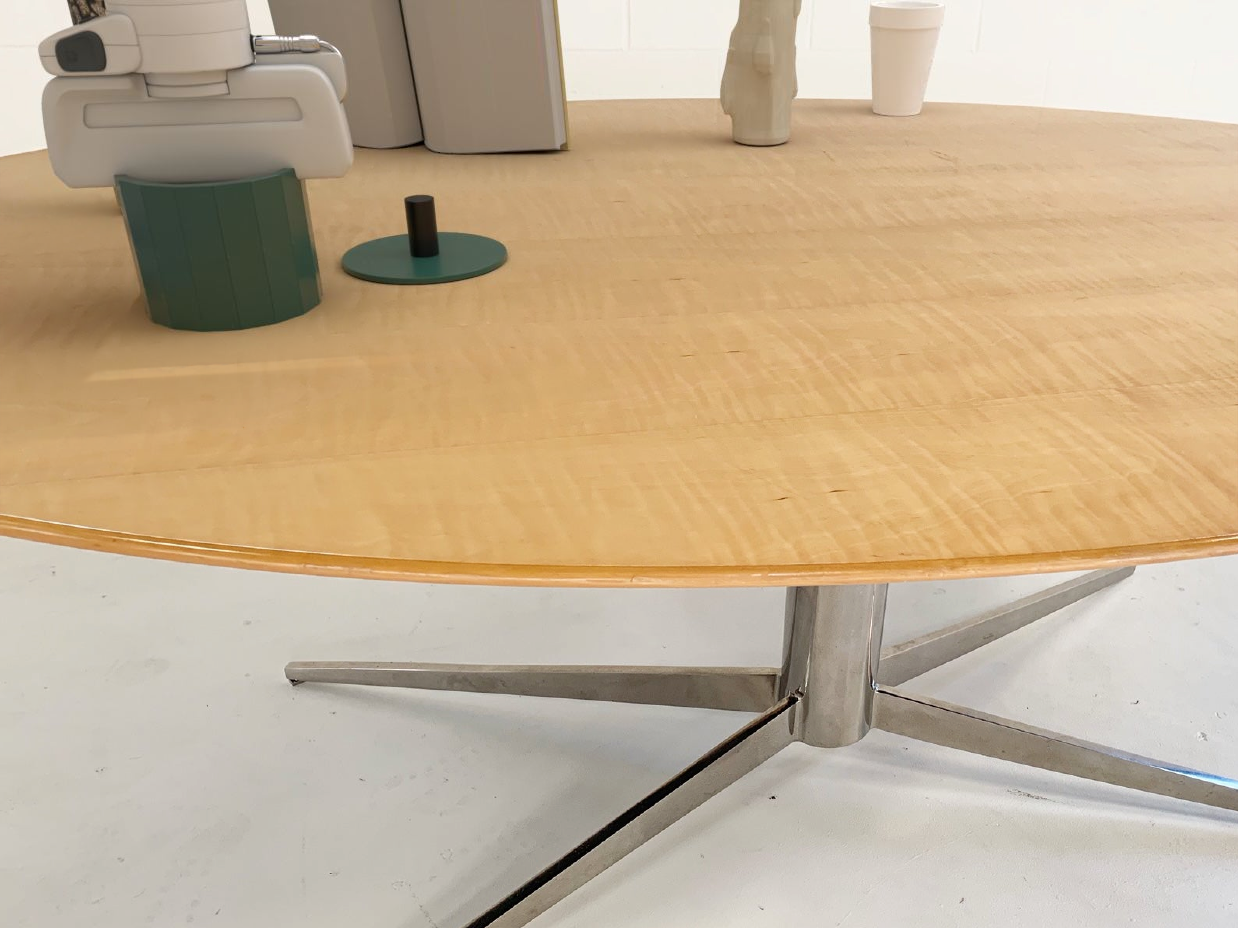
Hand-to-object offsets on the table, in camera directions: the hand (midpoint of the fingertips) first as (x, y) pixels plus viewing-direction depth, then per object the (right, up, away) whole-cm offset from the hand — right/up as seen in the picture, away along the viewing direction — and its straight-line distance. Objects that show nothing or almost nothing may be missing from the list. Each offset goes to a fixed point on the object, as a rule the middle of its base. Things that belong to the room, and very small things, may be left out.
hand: (224, 244), depth 85 cm
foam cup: (+65, +39, +71) cm, 104 cm away
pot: (0, -4, +3) cm, 5 cm away
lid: (+13, +2, +11) cm, 17 cm away
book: (+4, +28, +55) cm, 62 cm away
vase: (+45, +29, +55) cm, 76 cm away
